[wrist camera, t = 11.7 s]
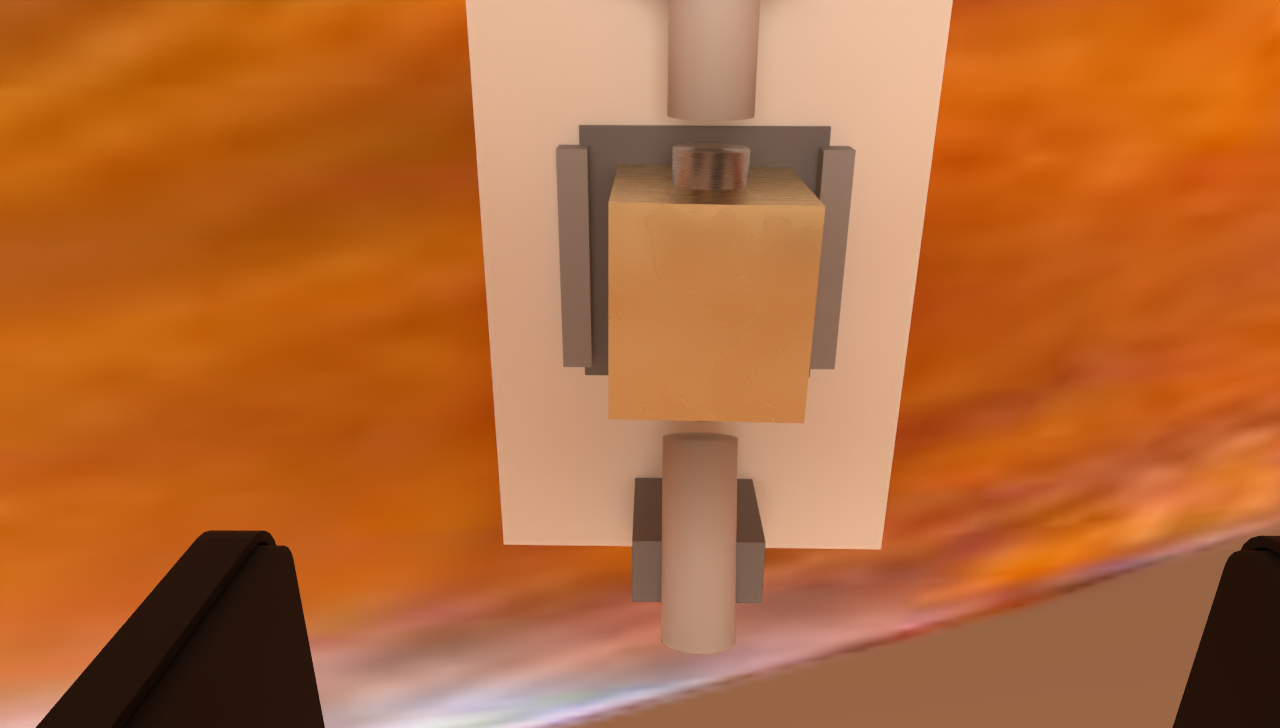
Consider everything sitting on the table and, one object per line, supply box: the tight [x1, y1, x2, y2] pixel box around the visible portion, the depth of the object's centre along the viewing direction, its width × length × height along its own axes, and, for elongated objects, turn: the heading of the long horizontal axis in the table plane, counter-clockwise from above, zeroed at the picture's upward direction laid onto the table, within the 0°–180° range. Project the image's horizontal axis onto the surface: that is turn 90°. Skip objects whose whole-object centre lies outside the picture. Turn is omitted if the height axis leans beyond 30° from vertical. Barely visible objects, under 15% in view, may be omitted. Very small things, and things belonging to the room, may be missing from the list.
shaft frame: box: [466, 0, 953, 654], centre depth 22 cm, size 19×12×7 cm, turn 0°
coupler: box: [608, 143, 825, 423], centre depth 21 cm, size 7×4×5 cm
